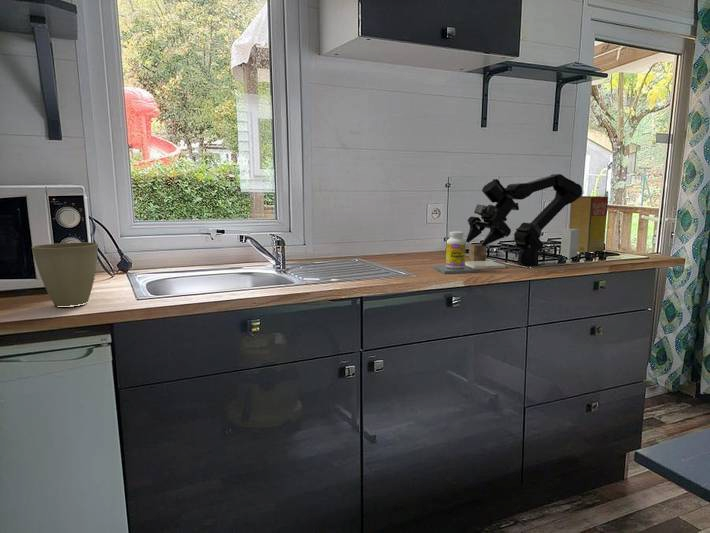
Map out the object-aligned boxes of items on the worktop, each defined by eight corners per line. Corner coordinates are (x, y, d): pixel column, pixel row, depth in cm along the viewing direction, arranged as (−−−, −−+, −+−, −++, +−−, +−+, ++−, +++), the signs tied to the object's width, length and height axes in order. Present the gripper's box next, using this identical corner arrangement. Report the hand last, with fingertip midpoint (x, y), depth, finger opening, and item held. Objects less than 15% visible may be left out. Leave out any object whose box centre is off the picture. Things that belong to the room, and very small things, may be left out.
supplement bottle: (448, 269, 173) (449, 232, 171) (444, 266, 179) (444, 231, 177) (467, 269, 173) (468, 232, 171) (462, 266, 179) (463, 231, 177)
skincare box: (567, 257, 206) (569, 228, 204) (577, 258, 202) (579, 229, 200) (559, 258, 202) (561, 229, 200) (569, 259, 199) (571, 230, 197)
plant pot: (105, 307, 127) (99, 245, 124) (37, 314, 119) (29, 250, 117) (102, 296, 139) (96, 240, 137) (40, 302, 132) (33, 244, 130)
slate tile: (464, 267, 183) (464, 264, 183) (477, 272, 171) (477, 269, 171) (433, 268, 181) (433, 265, 181) (444, 273, 169) (444, 271, 169)
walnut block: (480, 261, 198) (480, 243, 197) (485, 262, 193) (486, 245, 192) (468, 261, 197) (469, 244, 196) (473, 263, 193) (474, 245, 191)
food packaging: (605, 253, 215) (609, 196, 211) (587, 254, 212) (591, 196, 208) (583, 250, 227) (586, 195, 223) (566, 251, 225) (569, 196, 221)
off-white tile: (490, 263, 192) (491, 260, 192) (505, 267, 180) (505, 265, 180) (461, 264, 190) (461, 261, 190) (474, 269, 178) (474, 266, 178)
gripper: (472, 194, 184) (447, 226, 183) (505, 198, 168) (478, 232, 166) (488, 214, 189) (464, 245, 187) (522, 219, 172) (495, 253, 170)
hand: (474, 243), depth 178 cm, fingers open, 9 cm apart
